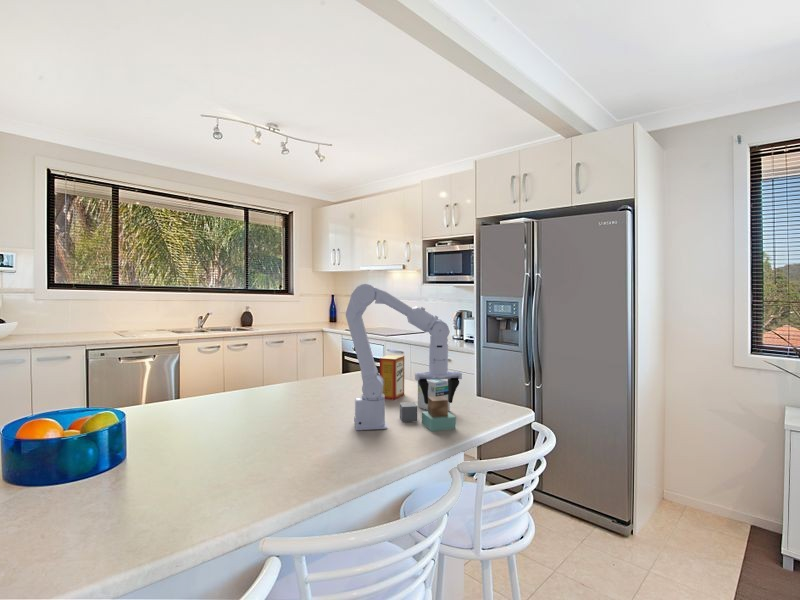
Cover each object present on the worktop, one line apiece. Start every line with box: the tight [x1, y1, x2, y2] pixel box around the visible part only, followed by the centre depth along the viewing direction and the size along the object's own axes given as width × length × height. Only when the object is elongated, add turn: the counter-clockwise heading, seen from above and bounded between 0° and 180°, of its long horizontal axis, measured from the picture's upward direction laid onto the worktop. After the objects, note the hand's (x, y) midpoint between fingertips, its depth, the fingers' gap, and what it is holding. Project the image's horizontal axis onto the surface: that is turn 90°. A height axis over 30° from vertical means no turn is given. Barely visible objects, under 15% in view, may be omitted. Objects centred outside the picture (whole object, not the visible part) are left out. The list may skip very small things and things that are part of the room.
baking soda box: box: [379, 354, 405, 401], centre depth 170 cm, size 10×6×16 cm
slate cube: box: [399, 401, 418, 423], centre depth 140 cm, size 5×5×5 cm
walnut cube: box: [427, 396, 449, 417], centre depth 133 cm, size 5×5×5 cm
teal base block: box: [421, 410, 457, 432], centre depth 133 cm, size 8×8×4 cm
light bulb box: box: [417, 377, 451, 412], centre depth 152 cm, size 11×7×11 cm, turn 34°
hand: (438, 402), depth 133 cm, fingers open, 7 cm apart
